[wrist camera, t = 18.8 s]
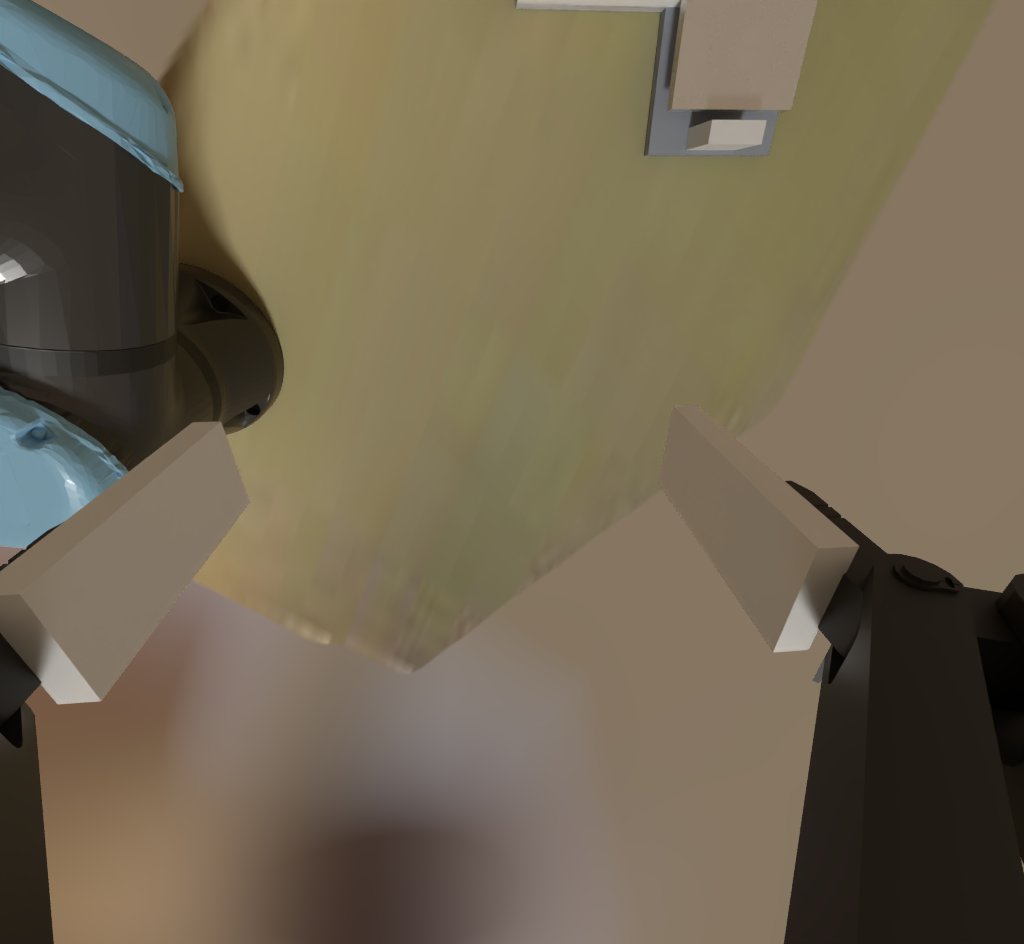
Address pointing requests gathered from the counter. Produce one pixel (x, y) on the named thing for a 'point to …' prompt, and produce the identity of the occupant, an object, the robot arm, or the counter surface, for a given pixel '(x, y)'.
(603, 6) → the tray
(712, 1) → the plate
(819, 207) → the counter surface
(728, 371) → the counter surface
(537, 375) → the counter surface
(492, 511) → the counter surface
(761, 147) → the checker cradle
